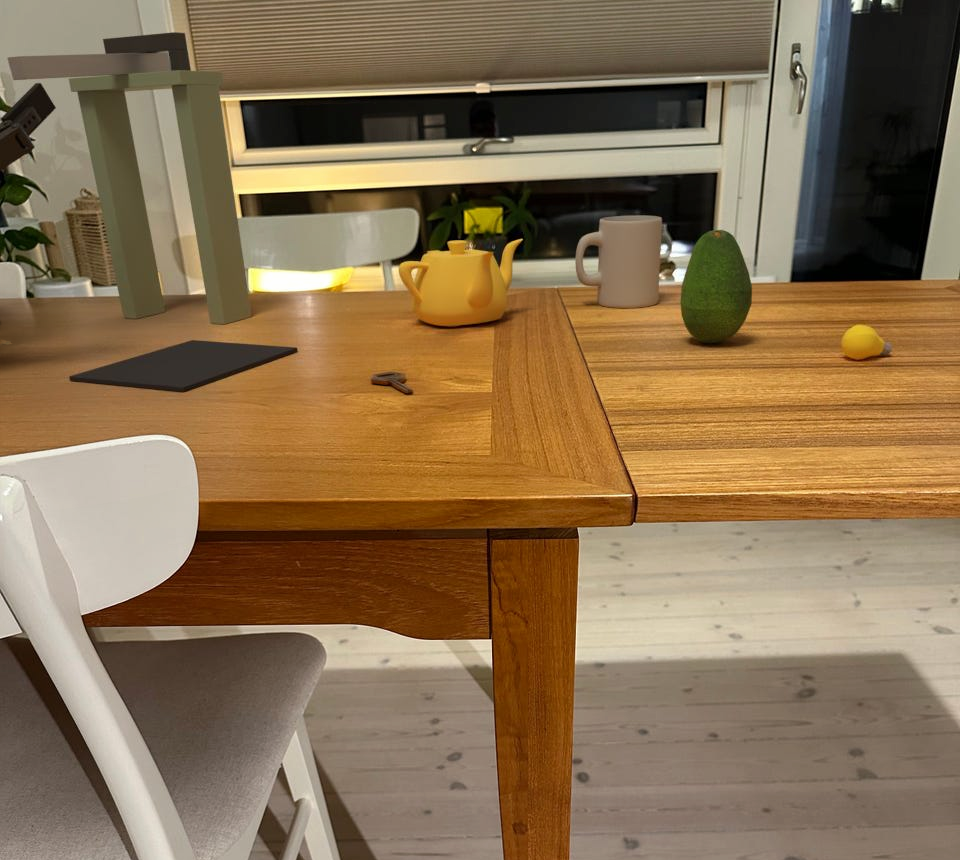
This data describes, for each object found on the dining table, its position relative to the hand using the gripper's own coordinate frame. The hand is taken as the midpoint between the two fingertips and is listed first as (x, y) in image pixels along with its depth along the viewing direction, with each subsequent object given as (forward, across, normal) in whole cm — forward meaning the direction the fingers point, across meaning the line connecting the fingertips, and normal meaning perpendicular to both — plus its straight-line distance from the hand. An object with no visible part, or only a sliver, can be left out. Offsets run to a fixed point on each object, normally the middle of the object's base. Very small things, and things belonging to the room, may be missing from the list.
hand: (2, 98), depth 106 cm
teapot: (+13, +41, -39) cm, 58 cm away
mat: (-15, +22, -23) cm, 35 cm away
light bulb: (+7, +92, -36) cm, 99 cm away
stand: (+6, 0, -35) cm, 36 cm away
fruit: (+9, +75, -37) cm, 84 cm away
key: (-16, +50, -22) cm, 57 cm away
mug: (+28, +56, -48) cm, 79 cm away
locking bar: (+14, 0, -5) cm, 15 cm away
